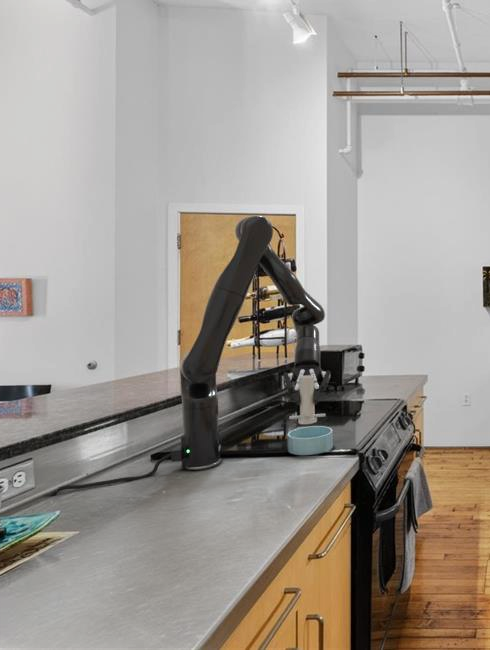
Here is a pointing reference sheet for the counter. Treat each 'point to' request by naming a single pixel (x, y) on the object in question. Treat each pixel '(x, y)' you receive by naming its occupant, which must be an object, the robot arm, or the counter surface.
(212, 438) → the robot arm
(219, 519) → the counter surface
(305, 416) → the blade
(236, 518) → the counter surface
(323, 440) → the processor bowl
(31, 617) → the counter surface
